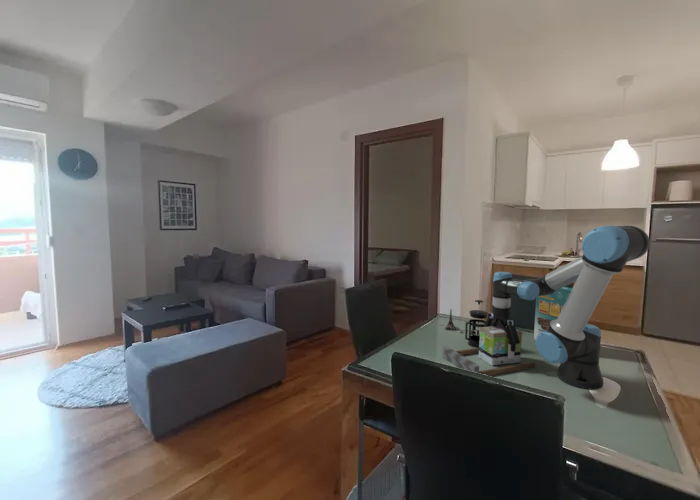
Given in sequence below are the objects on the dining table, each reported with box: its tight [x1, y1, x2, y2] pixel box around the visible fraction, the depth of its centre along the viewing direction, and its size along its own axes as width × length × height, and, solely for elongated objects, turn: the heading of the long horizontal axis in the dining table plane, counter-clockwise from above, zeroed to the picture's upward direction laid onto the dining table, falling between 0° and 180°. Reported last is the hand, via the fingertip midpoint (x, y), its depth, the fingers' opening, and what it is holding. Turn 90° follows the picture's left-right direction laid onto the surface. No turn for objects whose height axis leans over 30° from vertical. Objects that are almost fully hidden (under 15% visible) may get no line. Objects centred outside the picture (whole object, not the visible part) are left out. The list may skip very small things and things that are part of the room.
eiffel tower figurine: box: [439, 309, 464, 334], centre depth 198 cm, size 15×10×13 cm
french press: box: [464, 299, 489, 348], centre depth 173 cm, size 12×9×23 cm
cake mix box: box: [533, 286, 573, 341], centre depth 172 cm, size 22×6×30 cm, turn 22°
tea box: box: [478, 326, 523, 367], centre depth 155 cm, size 15×10×15 cm
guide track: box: [442, 346, 536, 377], centre depth 153 cm, size 22×32×5 cm
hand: (499, 352), depth 155 cm, fingers open, 13 cm apart
